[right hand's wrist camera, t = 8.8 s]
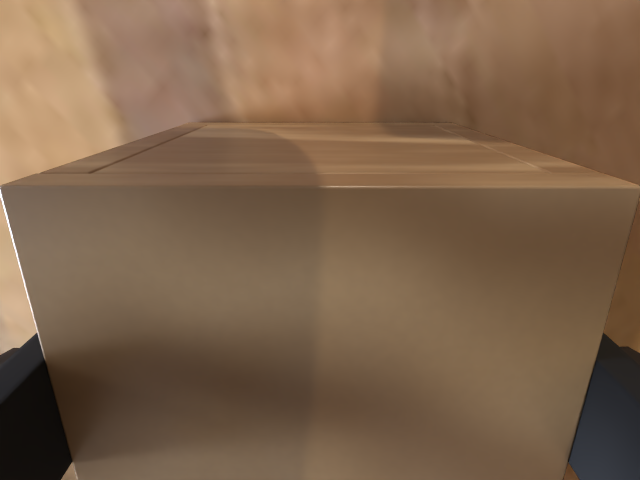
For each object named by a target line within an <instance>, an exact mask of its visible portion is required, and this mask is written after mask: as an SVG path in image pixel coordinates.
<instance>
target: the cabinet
mask: <svg viewBox="0 0 640 480" xmlns="http://www.w3.org/2000/svg"><path fill="white" fill-rule="evenodd" d="M0 196H1V200H2V204H3V207H4V211H5V215H6V218H7V222H8V226H9V229H10V233H11V237H12V241H13V244H14V248H15V252H16V255H17V259H18V263H19V266H20V270H21V274H22V278H23V281H24V285H25V289H26V292H27V296H28V300H29V303H30V307H31V311H32V315H33V318H34V322H35V326H36V329H37V333H38V337H39V340H40V344H41V348H42V352H43V355H44V359H45V363H46V366H47V370H48V374H49V377H50V381H51V385H52V389H53V392H54V396H55V400H56V403H57V407H58V411H59V414H60V418H61V422H62V426H63V429H64V433H65V437H66V440H67V444H68V448H69V452H70V455H71V459H72V463H73V466H74V470H75V474H76V477H77V480H563V479H564V475H565V472H566V468H567V464H568V461H569V457H570V453H571V450H572V446H573V442H574V438H575V435H576V431H577V427H578V424H579V420H580V416H581V413H582V409H583V405H584V402H585V398H586V394H587V390H588V387H589V383H590V379H591V376H592V372H593V368H594V365H595V361H596V357H597V354H598V350H599V346H600V342H601V339H602V335H603V331H604V328H605V324H606V320H607V317H608V313H609V309H610V306H611V302H612V298H613V294H614V291H615V287H616V283H617V280H618V276H619V272H620V269H621V265H622V261H623V257H624V254H625V250H626V246H627V243H628V239H629V235H630V232H631V228H632V224H633V221H634V217H635V213H636V209H637V206H638V202H639V198H640V185H637V184H634V183H631V182H628V181H625V180H622V179H619V178H616V177H613V176H610V175H607V174H603V173H601V172H598V171H595V170H592V169H589V168H586V167H583V166H580V165H577V164H574V163H571V162H568V161H565V160H562V159H559V158H556V157H553V156H550V155H547V154H544V153H541V152H538V151H535V150H532V149H529V148H526V147H523V146H520V145H517V144H514V143H511V142H508V141H505V140H502V139H499V138H496V137H493V136H490V135H487V134H484V133H481V132H478V131H475V130H472V129H469V128H466V127H463V126H460V125H457V124H454V123H186V124H183V125H181V126H178V127H175V128H172V129H169V130H166V131H163V132H160V133H157V134H154V135H151V136H148V137H145V138H142V139H139V140H136V141H133V142H130V143H127V144H124V145H121V146H118V147H115V148H112V149H109V150H106V151H103V152H101V153H98V154H95V155H92V156H89V157H86V158H83V159H80V160H77V161H74V162H71V163H68V164H65V165H62V166H59V167H56V168H53V169H50V170H47V171H44V172H41V173H39V174H33V175H30V176H27V177H24V178H21V179H18V180H15V181H12V182H9V183H6V184H3V185H1V186H0Z"/></svg>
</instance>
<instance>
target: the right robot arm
mask: <svg viewBox="0 0 640 480" xmlns="http://www.w3.org/2000/svg"><path fill="white" fill-rule="evenodd" d="M568 462H569V464H570V465H571V467H572V468H573V470H574V472H575V473H576V475H577V476H578V478H579V479H580V480H640V353H638V352H637V351H635V350H633V349H631V348H629V347H619V346H618V345H617V344H615V343H614V342H613V341H612V340H611V339H610V338H609V337H608V336H607V335H605V334H604V333H603V335H602V339H601V342H600V346H599V350H598V354H597V357H596V361H595V365H594V368H593V372H592V376H591V379H590V383H589V387H588V390H587V394H586V398H585V402H584V405H583V409H582V413H581V416H580V420H579V424H578V427H577V431H576V435H575V438H574V442H573V446H572V450H571V453H570V457H569V461H568ZM71 463H72V459H71V455H70V452H69V448H68V444H67V440H66V437H65V433H64V429H63V426H62V422H61V418H60V414H59V411H58V407H57V403H56V400H55V396H54V392H53V389H52V385H51V381H50V377H49V374H48V370H47V366H46V363H45V359H44V355H43V352H42V348H41V344H40V340H39V337H38V333H36V334H35V335H34V336H33V337H32V338H31V339H30V340H28V341H27V342H26V343H25V344H24V345H23V346H22V347H21V348H12V349H11V350H9V351H7V352H5V353H3V354H2V355H0V480H61V478H62V477H63V475H64V474H65V472H66V471H67V469H68V468H69V466H70V465H71Z"/></svg>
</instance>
